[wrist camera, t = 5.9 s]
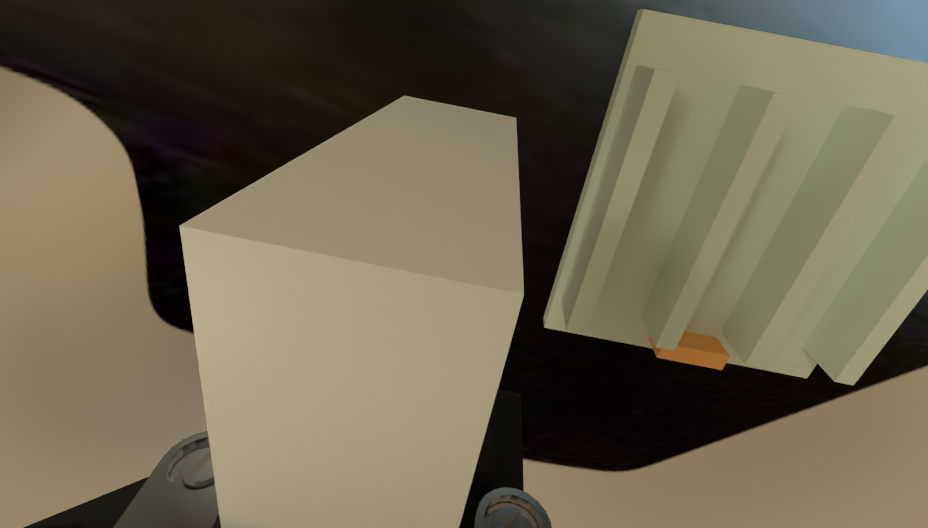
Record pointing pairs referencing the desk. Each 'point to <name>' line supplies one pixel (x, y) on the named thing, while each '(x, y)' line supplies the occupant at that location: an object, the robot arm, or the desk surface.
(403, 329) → the panel
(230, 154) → the desk surface
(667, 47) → the rack
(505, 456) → the robot arm
